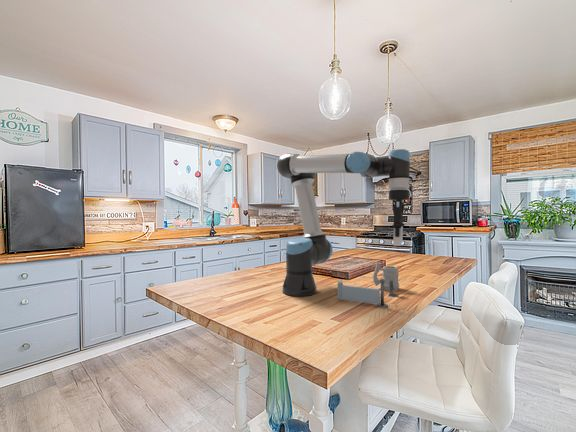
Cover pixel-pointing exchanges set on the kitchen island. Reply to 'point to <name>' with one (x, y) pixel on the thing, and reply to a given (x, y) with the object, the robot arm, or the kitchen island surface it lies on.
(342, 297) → the gate
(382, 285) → the hinge post
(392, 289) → the stop post
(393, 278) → the mug
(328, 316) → the kitchen island surface
